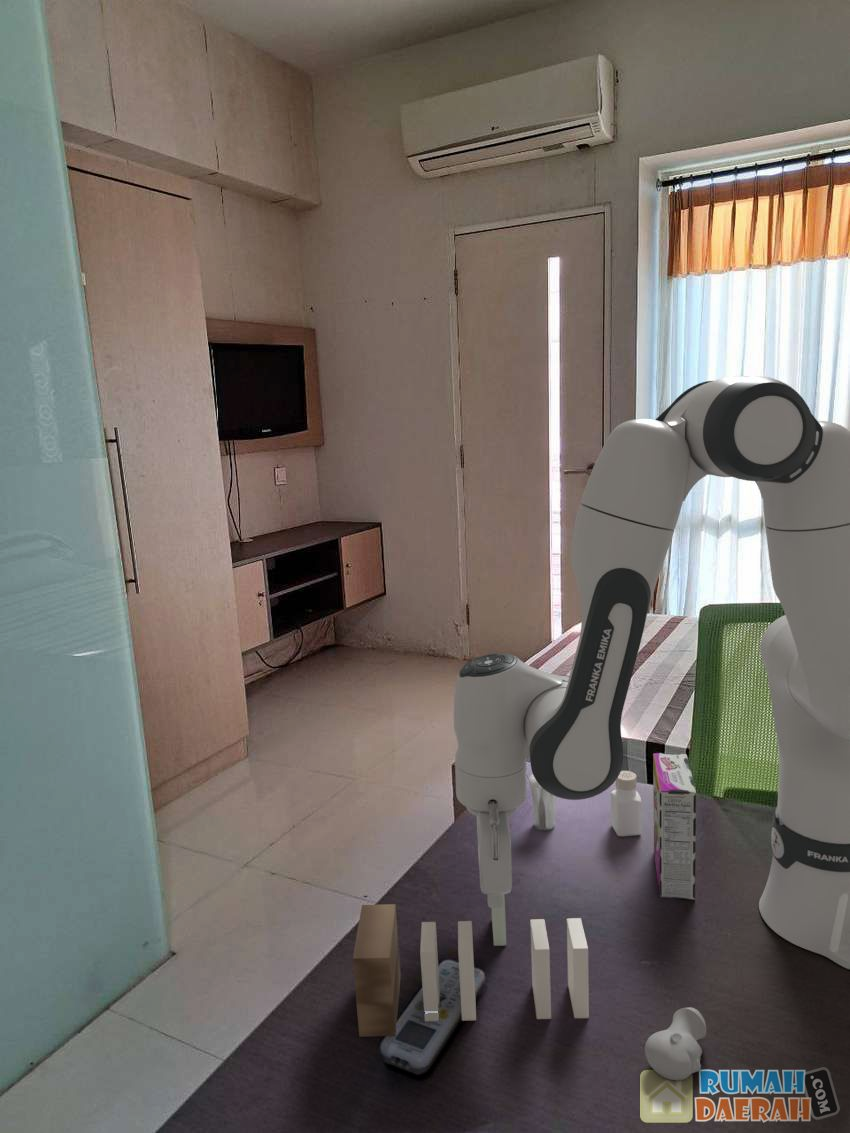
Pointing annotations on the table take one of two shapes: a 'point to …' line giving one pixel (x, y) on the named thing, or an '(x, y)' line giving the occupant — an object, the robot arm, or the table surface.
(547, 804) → the milkshake
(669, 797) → the candy bar box
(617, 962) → the table surface
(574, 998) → the domino
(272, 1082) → the table surface
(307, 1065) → the table surface
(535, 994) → the domino
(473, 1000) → the domino
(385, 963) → the end block
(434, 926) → the domino
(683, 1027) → the smooth white sculpture
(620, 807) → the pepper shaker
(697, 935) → the table surface
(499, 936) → the domino
